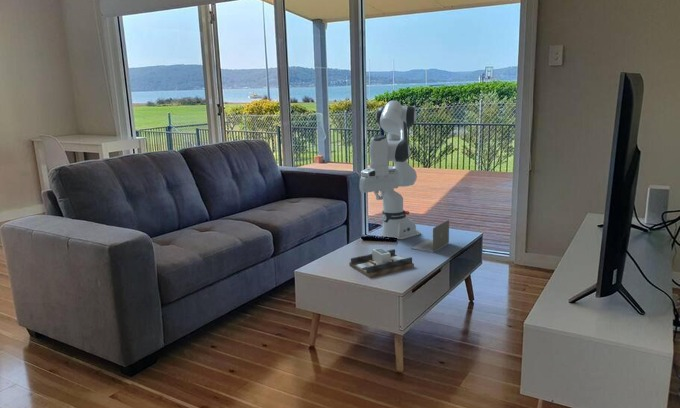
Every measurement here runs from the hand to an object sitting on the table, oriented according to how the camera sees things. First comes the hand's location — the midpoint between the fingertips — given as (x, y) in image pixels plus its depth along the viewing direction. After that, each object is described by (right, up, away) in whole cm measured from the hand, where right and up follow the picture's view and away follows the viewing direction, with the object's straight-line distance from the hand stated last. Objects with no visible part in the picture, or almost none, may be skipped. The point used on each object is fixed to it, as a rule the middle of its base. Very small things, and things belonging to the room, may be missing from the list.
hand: (379, 199), depth 236 cm
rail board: (0, -31, -5) cm, 31 cm away
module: (0, -29, -5) cm, 29 cm away
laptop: (+28, -24, +22) cm, 43 cm away
